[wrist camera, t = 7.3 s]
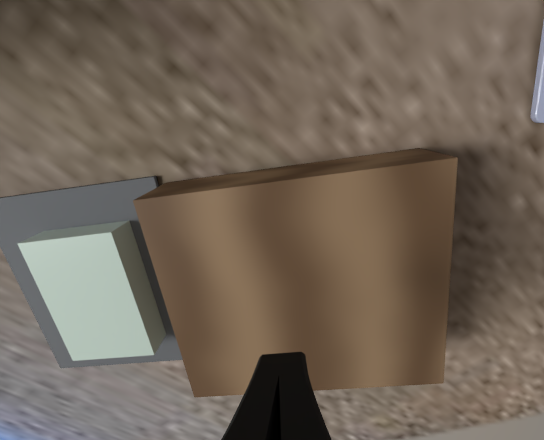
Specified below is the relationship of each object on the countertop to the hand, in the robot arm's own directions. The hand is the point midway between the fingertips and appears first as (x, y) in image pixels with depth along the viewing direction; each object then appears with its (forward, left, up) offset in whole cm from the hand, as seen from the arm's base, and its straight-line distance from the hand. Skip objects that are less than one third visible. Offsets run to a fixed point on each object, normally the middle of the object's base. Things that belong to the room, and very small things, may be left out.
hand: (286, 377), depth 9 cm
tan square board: (0, +2, -10) cm, 10 cm away
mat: (+14, +2, -10) cm, 17 cm away
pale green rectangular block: (+13, +2, -8) cm, 15 cm away
